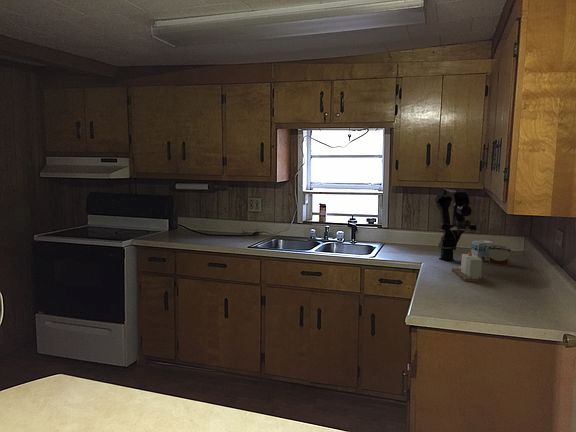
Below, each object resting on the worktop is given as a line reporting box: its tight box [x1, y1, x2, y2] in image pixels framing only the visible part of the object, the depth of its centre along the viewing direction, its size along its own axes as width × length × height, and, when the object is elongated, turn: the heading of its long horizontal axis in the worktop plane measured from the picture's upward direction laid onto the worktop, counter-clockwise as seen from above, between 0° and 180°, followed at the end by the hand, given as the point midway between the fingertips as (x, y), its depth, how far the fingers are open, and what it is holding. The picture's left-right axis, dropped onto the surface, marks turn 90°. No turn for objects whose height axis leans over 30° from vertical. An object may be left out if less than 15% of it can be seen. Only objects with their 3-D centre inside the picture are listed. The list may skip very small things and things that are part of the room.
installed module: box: [465, 257, 483, 278], centre depth 236 cm, size 6×6×9 cm
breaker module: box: [460, 252, 477, 274], centre depth 243 cm, size 7×6×10 cm
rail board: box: [451, 266, 487, 283], centre depth 244 cm, size 21×10×2 cm, turn 178°
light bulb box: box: [470, 240, 495, 262], centre depth 284 cm, size 11×7×11 cm, turn 105°
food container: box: [488, 244, 512, 267], centre depth 273 cm, size 12×6×10 cm, turn 59°
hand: (456, 242), depth 267 cm, fingers closed
